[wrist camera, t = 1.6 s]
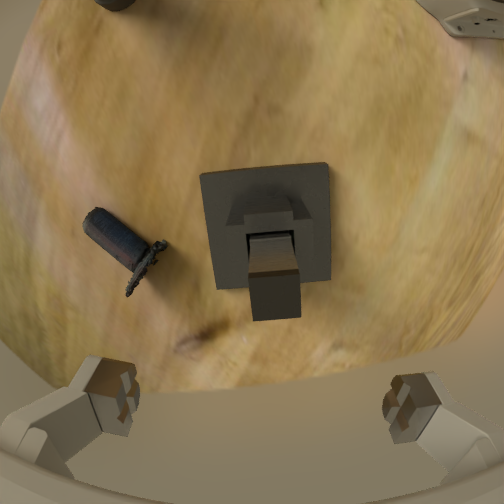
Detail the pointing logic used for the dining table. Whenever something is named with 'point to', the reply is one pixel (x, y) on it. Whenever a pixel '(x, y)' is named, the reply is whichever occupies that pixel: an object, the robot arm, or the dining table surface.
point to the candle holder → (115, 4)
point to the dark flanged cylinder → (121, 244)
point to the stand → (268, 217)
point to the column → (273, 277)
